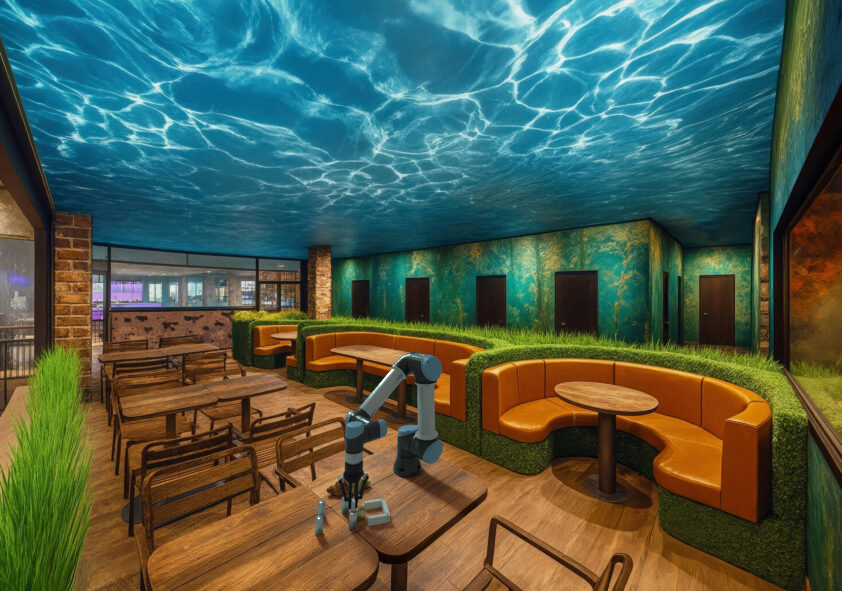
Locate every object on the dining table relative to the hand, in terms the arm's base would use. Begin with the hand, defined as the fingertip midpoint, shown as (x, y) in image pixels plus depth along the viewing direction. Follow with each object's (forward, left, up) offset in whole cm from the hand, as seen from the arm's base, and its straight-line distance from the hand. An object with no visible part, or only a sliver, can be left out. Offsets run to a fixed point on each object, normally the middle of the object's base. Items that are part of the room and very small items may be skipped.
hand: (352, 515), depth 145 cm
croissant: (-20, +1, -2) cm, 20 cm away
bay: (0, +10, -1) cm, 11 cm away
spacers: (0, -8, -1) cm, 8 cm away
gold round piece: (0, +3, -1) cm, 3 cm away
